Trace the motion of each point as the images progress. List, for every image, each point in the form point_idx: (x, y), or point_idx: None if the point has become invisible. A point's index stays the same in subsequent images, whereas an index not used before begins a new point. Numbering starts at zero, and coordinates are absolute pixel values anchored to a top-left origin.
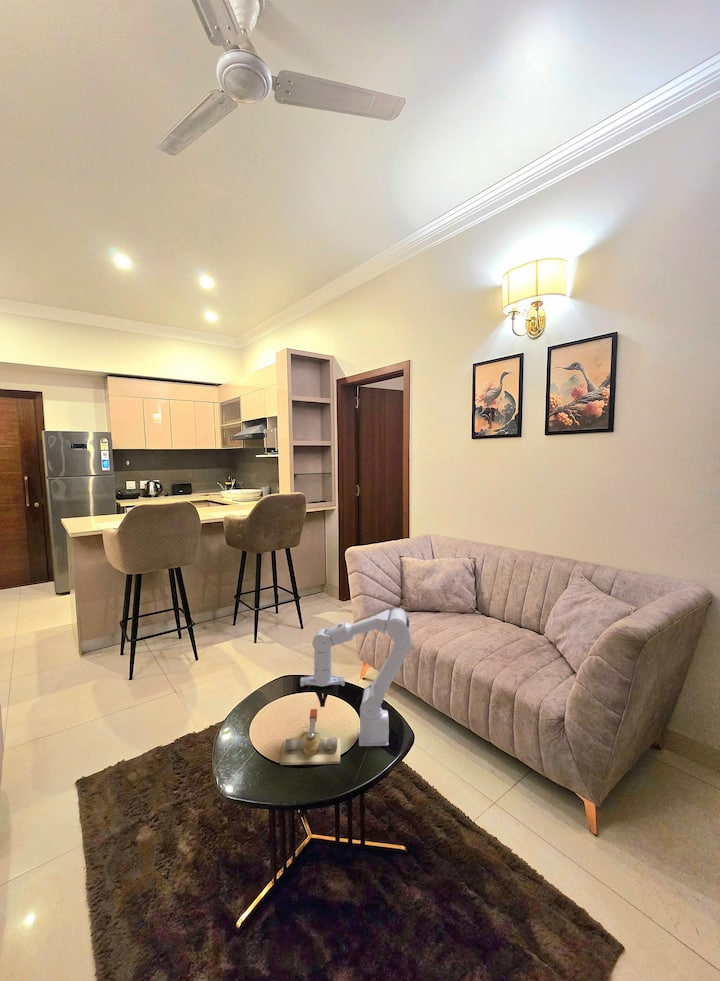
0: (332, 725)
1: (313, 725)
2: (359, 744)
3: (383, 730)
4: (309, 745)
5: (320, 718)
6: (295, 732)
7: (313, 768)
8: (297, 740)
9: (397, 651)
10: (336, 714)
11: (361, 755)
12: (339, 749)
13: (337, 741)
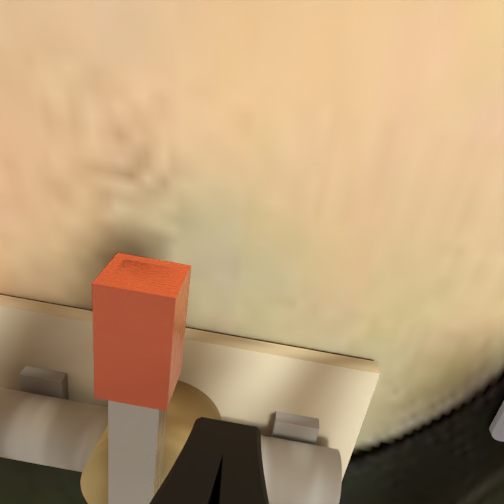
0: (357, 197)
1: (142, 480)
2: (493, 435)
3: None
4: None
5: (260, 75)
6: (48, 218)
7: None
8: (49, 462)
9: None
10: (441, 36)
11: (468, 480)
12: (345, 456)
13: (349, 399)
